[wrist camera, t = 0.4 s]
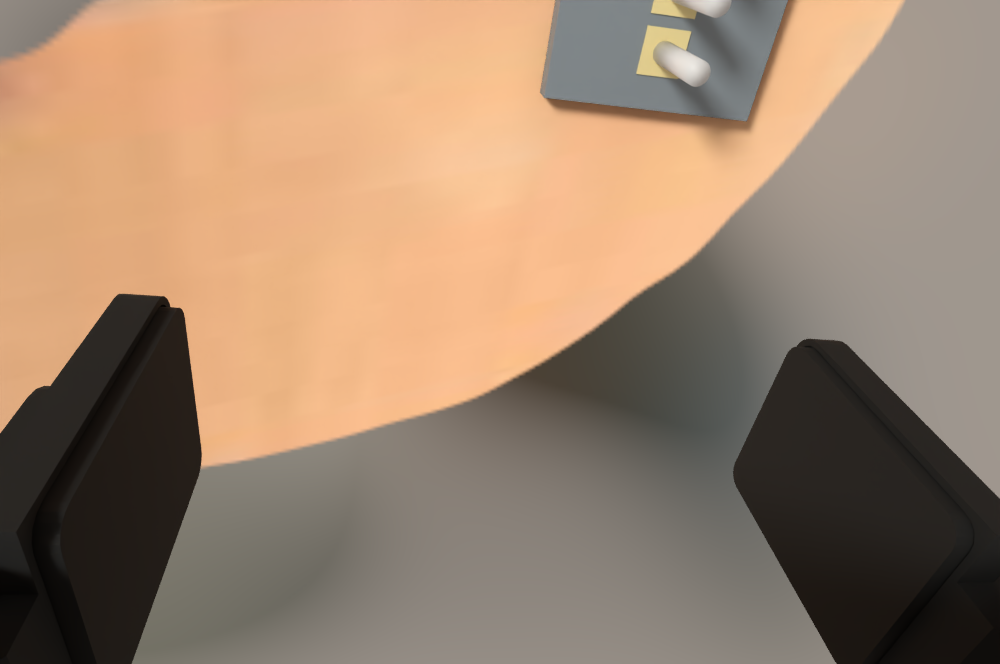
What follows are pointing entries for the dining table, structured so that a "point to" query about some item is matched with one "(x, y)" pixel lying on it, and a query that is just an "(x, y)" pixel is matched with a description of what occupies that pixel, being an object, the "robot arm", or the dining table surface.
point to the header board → (661, 54)
